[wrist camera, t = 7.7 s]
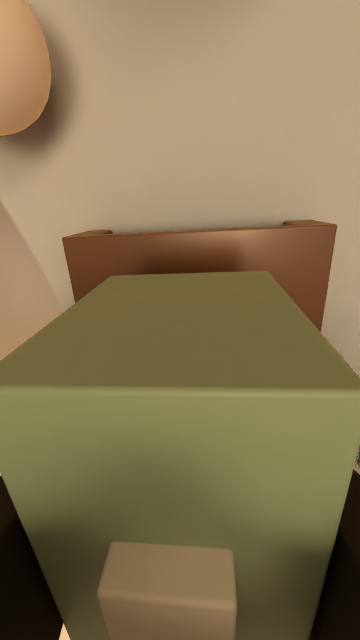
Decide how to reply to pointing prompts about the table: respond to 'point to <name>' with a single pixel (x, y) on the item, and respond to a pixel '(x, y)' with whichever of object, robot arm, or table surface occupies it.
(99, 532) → the tissue box
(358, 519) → the robot arm
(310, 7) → the table surface
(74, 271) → the brown wooden base
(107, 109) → the table surface
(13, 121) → the egg
